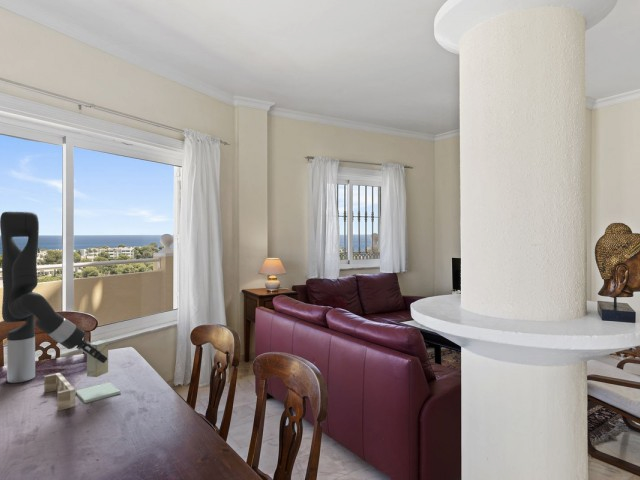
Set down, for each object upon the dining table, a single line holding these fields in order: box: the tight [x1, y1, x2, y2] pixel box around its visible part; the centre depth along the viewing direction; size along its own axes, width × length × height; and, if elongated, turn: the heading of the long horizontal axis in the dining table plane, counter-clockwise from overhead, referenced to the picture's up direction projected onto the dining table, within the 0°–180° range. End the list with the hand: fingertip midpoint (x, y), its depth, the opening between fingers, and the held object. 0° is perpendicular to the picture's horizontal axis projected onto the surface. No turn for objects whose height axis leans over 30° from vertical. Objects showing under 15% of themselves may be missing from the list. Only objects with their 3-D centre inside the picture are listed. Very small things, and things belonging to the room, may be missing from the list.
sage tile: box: [75, 381, 121, 404], centre depth 148 cm, size 12×12×1 cm
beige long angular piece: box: [43, 372, 76, 412], centre depth 143 cm, size 22×5×6 cm, turn 45°
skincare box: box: [86, 339, 109, 378], centre depth 148 cm, size 6×4×12 cm
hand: (102, 358), depth 149 cm, fingers closed on skincare box, 6 cm apart
